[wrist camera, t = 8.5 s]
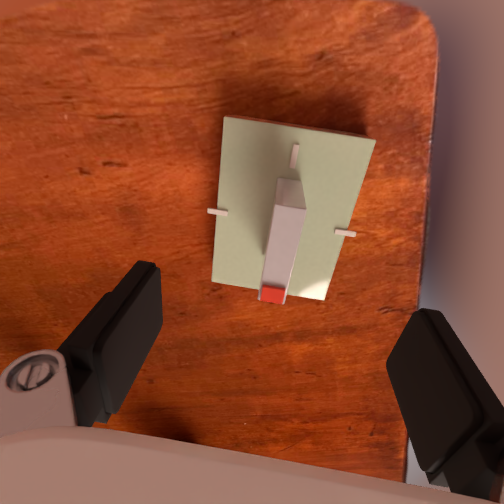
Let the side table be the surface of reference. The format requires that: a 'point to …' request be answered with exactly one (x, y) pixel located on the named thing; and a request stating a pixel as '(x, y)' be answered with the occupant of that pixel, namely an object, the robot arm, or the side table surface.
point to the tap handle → (282, 240)
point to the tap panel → (262, 193)
